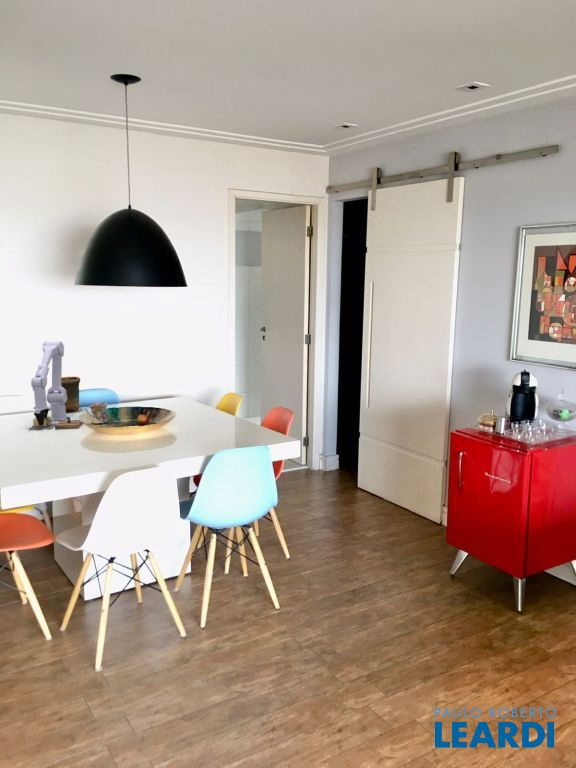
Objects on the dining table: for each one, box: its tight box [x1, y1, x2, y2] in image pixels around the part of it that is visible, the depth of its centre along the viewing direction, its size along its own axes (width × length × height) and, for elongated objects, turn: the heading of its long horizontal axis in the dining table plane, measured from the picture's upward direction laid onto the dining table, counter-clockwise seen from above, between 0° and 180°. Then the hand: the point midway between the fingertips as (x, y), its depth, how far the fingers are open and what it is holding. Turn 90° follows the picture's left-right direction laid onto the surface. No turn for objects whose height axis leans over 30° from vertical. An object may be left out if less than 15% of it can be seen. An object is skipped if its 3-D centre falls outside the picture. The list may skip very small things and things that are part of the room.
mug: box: [85, 401, 109, 423], centre depth 363 cm, size 12×9×11 cm
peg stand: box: [54, 416, 84, 431], centre depth 358 cm, size 12×12×5 cm
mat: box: [27, 422, 58, 431], centre depth 358 cm, size 12×12×1 cm
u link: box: [32, 416, 53, 426], centre depth 357 cm, size 8×6×4 cm
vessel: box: [57, 376, 81, 415], centre depth 395 cm, size 14×14×20 cm
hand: (42, 423), depth 357 cm, fingers closed on u link, 6 cm apart
